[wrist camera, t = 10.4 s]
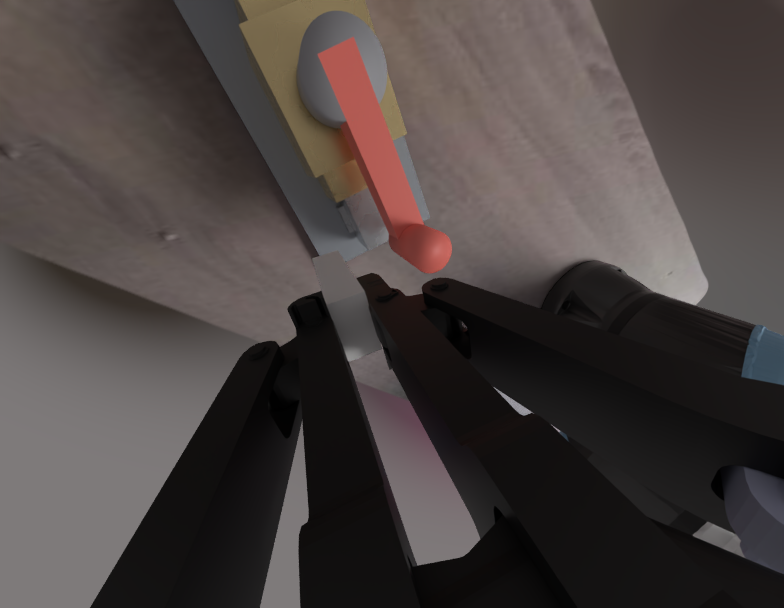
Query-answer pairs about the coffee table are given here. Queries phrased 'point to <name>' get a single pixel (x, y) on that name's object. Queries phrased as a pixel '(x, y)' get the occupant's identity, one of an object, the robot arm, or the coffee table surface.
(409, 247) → the lever
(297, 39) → the pipe valve
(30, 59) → the coffee table surface
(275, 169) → the mount board
